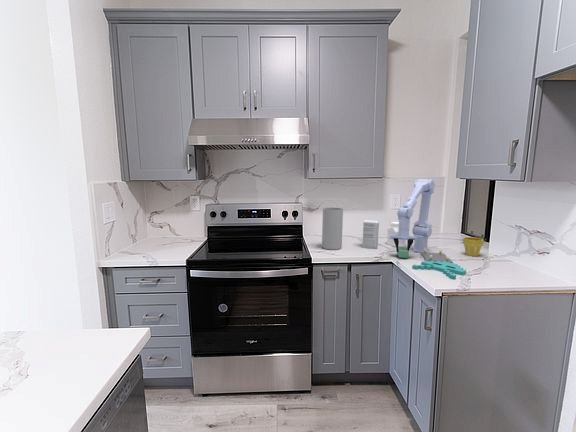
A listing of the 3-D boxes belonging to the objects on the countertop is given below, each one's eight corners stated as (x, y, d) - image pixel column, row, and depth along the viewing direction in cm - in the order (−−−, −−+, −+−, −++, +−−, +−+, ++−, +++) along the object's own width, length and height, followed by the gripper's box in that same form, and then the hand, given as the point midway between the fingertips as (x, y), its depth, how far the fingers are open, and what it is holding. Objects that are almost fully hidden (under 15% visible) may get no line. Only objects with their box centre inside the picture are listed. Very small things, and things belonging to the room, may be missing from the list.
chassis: (420, 253, 182) (420, 247, 182) (443, 255, 179) (444, 249, 179) (426, 262, 165) (427, 255, 164) (452, 263, 162) (453, 257, 162)
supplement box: (363, 244, 204) (364, 219, 202) (377, 245, 201) (379, 220, 199) (362, 247, 195) (363, 221, 193) (377, 249, 192) (378, 222, 190)
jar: (408, 246, 200) (409, 223, 198) (397, 247, 196) (398, 224, 194) (395, 242, 210) (396, 221, 208) (384, 243, 206) (385, 222, 204)
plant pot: (458, 254, 181) (460, 238, 180) (465, 251, 188) (467, 236, 187) (478, 258, 174) (479, 241, 172) (484, 255, 180) (486, 238, 179)
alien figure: (453, 280, 138) (471, 271, 151) (454, 275, 138) (471, 267, 151) (412, 269, 154) (431, 262, 166) (412, 265, 154) (431, 258, 166)
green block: (396, 252, 181) (396, 246, 180) (405, 252, 180) (405, 246, 179) (398, 257, 170) (399, 251, 170) (408, 257, 169) (408, 251, 169)
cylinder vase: (339, 250, 187) (341, 210, 183) (319, 249, 191) (320, 209, 187) (343, 246, 199) (344, 208, 195) (324, 244, 203) (325, 207, 199)
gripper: (391, 229, 170) (389, 252, 172) (419, 230, 167) (417, 254, 169) (389, 227, 177) (388, 249, 179) (416, 228, 174) (415, 251, 176)
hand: (402, 251), depth 175 cm, fingers closed on green block, 5 cm apart
